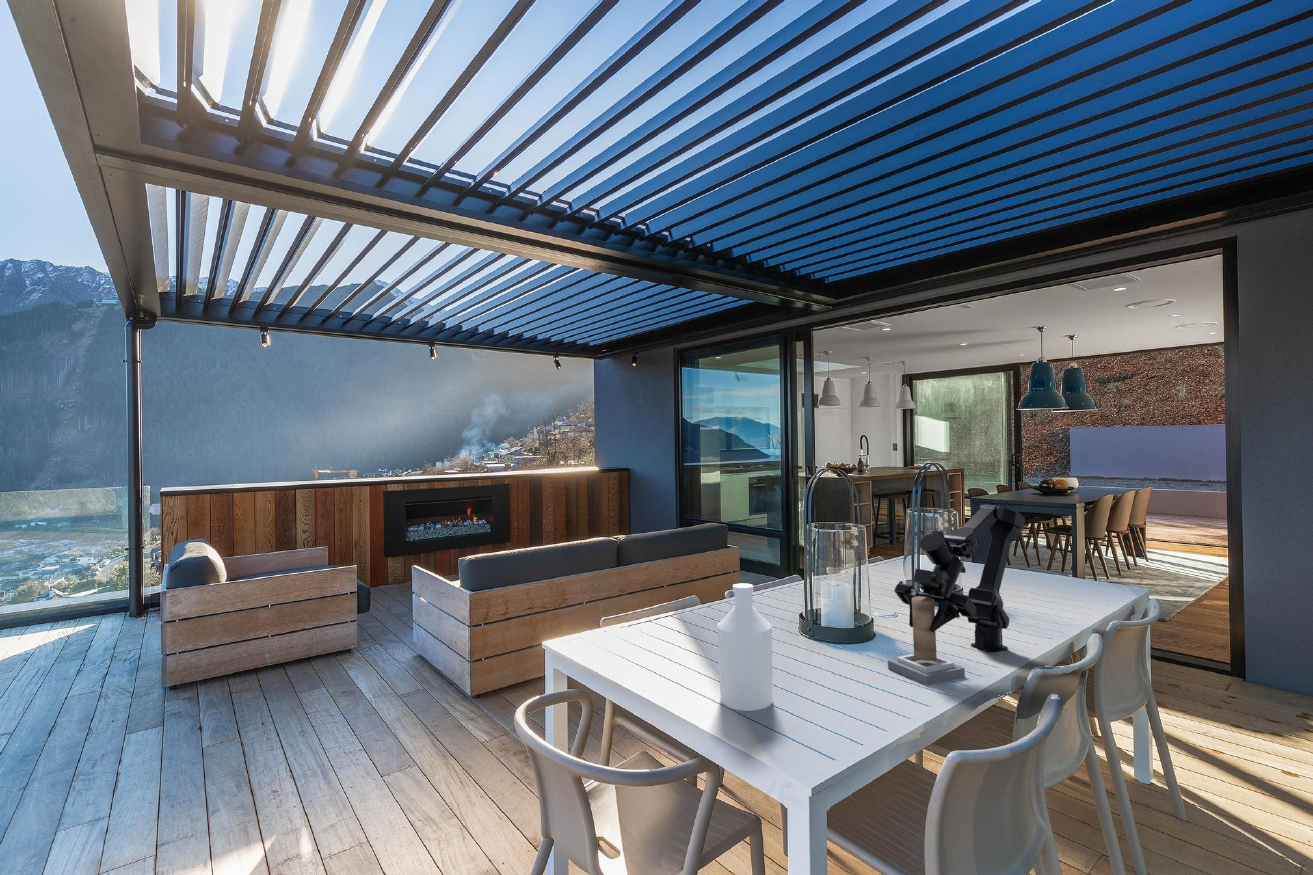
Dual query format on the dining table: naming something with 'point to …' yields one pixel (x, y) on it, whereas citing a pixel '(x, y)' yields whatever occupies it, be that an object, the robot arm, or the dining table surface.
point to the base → (926, 669)
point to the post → (923, 628)
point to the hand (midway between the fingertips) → (920, 628)
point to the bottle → (745, 654)
